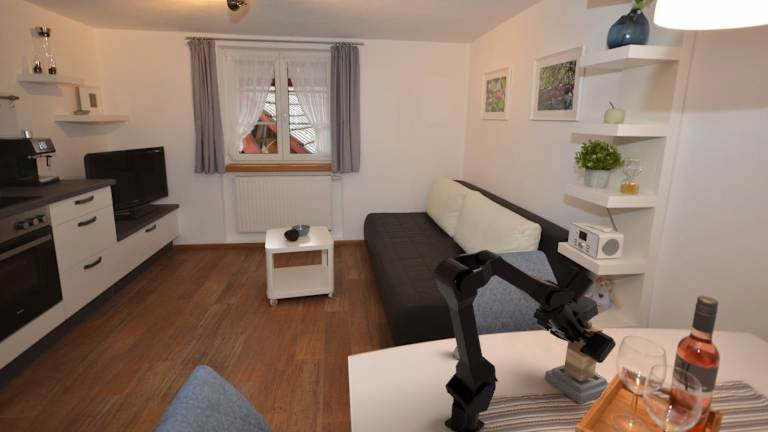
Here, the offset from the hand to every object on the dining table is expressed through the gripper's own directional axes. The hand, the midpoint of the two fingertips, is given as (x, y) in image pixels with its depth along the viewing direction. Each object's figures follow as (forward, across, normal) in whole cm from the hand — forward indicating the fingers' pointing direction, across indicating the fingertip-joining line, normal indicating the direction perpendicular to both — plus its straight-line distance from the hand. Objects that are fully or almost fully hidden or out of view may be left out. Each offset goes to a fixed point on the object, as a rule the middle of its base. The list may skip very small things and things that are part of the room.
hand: (586, 348), depth 106 cm
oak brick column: (+4, 0, +6) cm, 7 cm away
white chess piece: (-7, +23, +22) cm, 33 cm away
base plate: (+6, 0, +8) cm, 10 cm away
